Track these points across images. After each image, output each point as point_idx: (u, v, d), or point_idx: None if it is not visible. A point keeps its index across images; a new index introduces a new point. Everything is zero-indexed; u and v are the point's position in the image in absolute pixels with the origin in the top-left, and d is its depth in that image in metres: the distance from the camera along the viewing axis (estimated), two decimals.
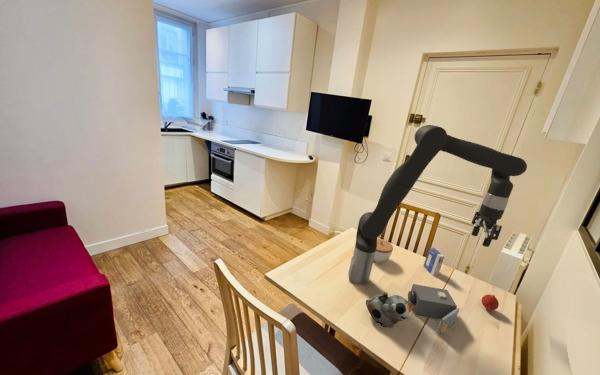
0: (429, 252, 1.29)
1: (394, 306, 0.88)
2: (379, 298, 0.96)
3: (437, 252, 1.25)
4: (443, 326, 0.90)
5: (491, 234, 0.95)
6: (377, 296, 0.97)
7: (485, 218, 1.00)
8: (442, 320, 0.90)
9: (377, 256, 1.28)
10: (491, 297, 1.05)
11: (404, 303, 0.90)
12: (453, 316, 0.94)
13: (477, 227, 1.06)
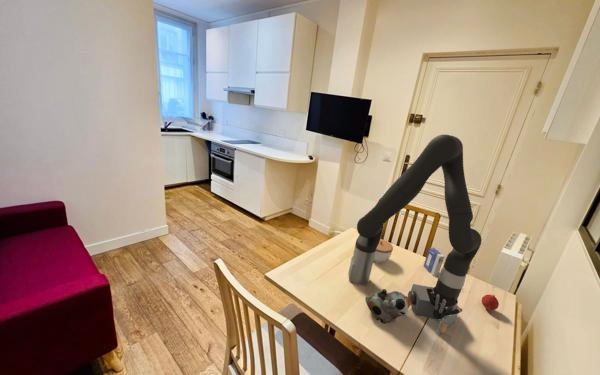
0: (429, 252, 1.29)
1: (394, 302, 0.90)
2: (378, 295, 0.97)
3: (437, 252, 1.25)
4: (443, 326, 0.90)
5: (448, 313, 0.88)
6: (376, 293, 0.99)
7: (444, 295, 0.89)
8: (442, 320, 0.90)
9: (377, 256, 1.28)
10: (491, 297, 1.05)
11: (403, 299, 0.92)
12: (453, 316, 0.94)
13: (439, 308, 0.92)
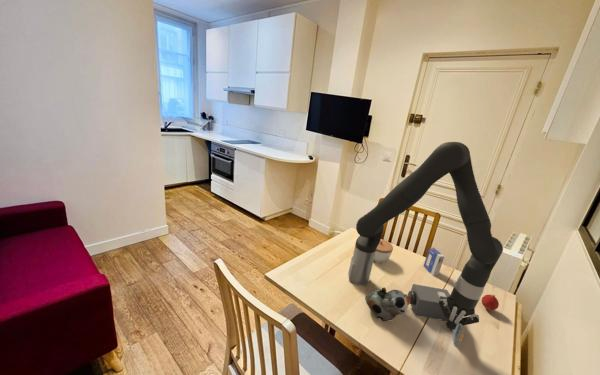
0: (429, 252, 1.29)
1: (394, 300, 0.91)
2: (378, 293, 0.98)
3: (437, 252, 1.25)
4: (461, 336, 0.87)
5: (467, 323, 0.85)
6: (376, 291, 1.00)
7: (461, 306, 0.85)
8: (460, 331, 0.86)
9: (377, 256, 1.28)
10: (491, 297, 1.05)
11: (403, 297, 0.93)
12: None
13: (453, 318, 0.88)
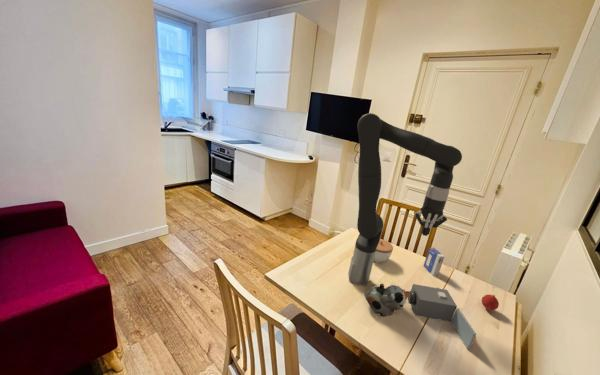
0: (429, 252, 1.29)
1: (393, 296, 0.93)
2: (377, 290, 1.00)
3: (437, 252, 1.25)
4: (474, 339, 0.86)
5: (438, 224, 1.00)
6: (374, 288, 1.02)
7: (433, 211, 0.99)
8: (474, 334, 0.85)
9: (377, 256, 1.28)
10: (491, 297, 1.05)
11: (401, 292, 0.96)
12: None
13: None
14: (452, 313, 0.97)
